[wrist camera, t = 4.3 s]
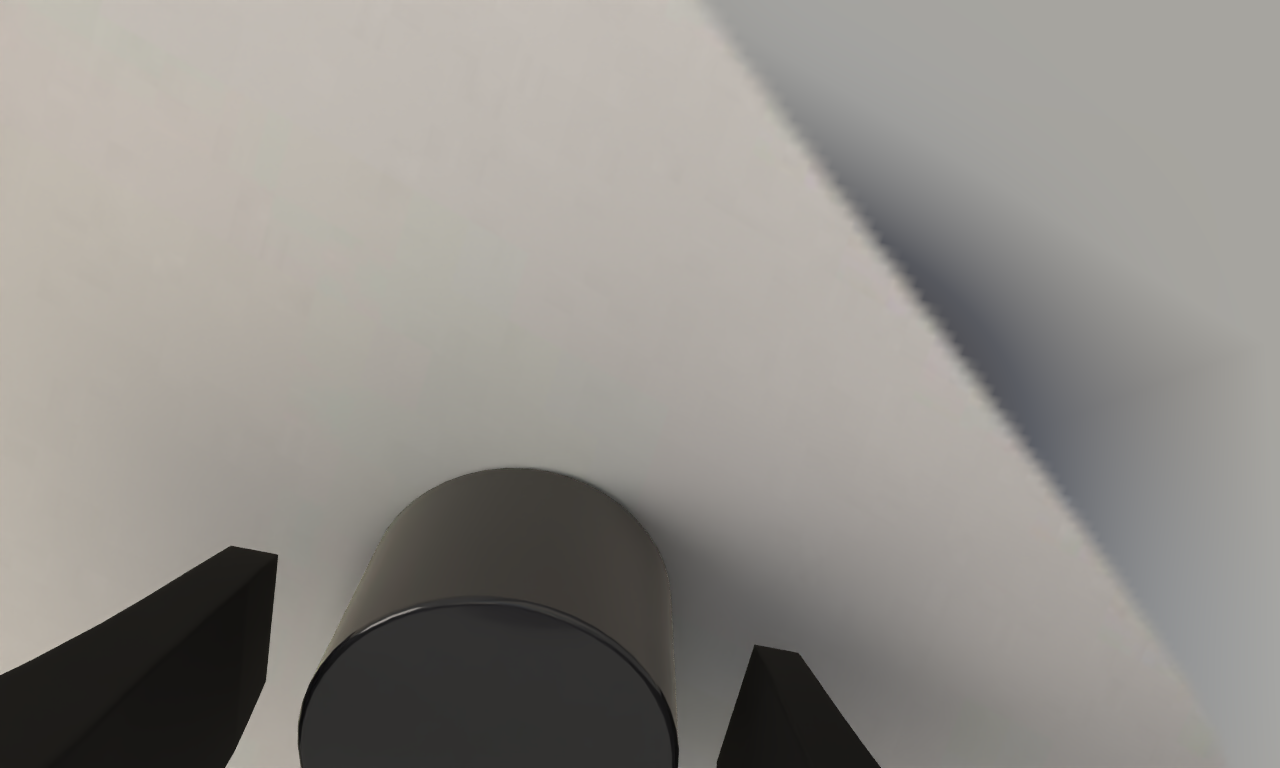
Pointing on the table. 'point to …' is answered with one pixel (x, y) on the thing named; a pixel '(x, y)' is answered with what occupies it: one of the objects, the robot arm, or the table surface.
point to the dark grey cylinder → (501, 637)
